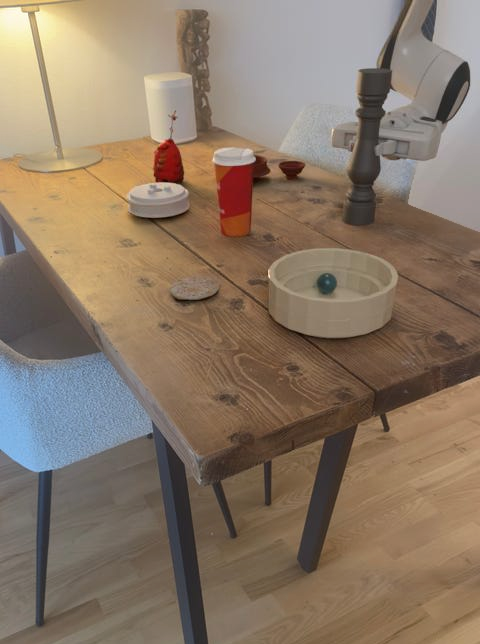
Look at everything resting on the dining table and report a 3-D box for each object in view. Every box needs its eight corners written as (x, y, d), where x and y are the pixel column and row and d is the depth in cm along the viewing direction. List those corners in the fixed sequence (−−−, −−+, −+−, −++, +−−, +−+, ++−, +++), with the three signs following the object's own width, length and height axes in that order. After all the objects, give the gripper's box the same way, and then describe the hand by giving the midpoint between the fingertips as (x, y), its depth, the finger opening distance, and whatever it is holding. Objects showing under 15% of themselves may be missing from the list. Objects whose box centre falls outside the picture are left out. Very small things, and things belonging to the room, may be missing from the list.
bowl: (379, 284, 88) (384, 246, 84) (403, 342, 74) (411, 300, 71) (266, 286, 88) (266, 249, 85) (270, 343, 75) (270, 302, 71)
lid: (200, 214, 115) (198, 189, 112) (143, 226, 110) (139, 200, 107) (173, 198, 124) (171, 174, 121) (119, 209, 119) (116, 184, 116)
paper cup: (227, 222, 111) (224, 144, 103) (262, 227, 109) (262, 148, 100) (208, 235, 106) (203, 155, 97) (244, 241, 103) (243, 159, 94)
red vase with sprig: (156, 178, 136) (148, 108, 127) (185, 177, 136) (180, 107, 127) (153, 187, 130) (145, 114, 121) (184, 186, 130) (178, 113, 121)
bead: (334, 288, 86) (336, 269, 84) (337, 297, 83) (339, 278, 81) (315, 288, 86) (316, 269, 84) (316, 297, 83) (318, 278, 81)
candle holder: (373, 215, 113) (393, 68, 97) (374, 226, 108) (394, 73, 92) (342, 213, 114) (356, 67, 98) (341, 224, 109) (356, 73, 93)
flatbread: (183, 277, 91) (183, 271, 91) (227, 284, 89) (226, 278, 88) (160, 299, 85) (159, 293, 85) (206, 306, 83) (205, 300, 82)
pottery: (219, 174, 138) (218, 154, 135) (300, 170, 139) (301, 151, 136) (222, 188, 129) (221, 167, 126) (308, 184, 130) (309, 164, 127)
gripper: (352, 110, 114) (315, 123, 105) (450, 122, 103) (418, 136, 95) (349, 144, 117) (313, 159, 109) (443, 159, 107) (411, 176, 99)
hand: (363, 149), depth 102 cm, fingers closed on candle holder, 3 cm apart
